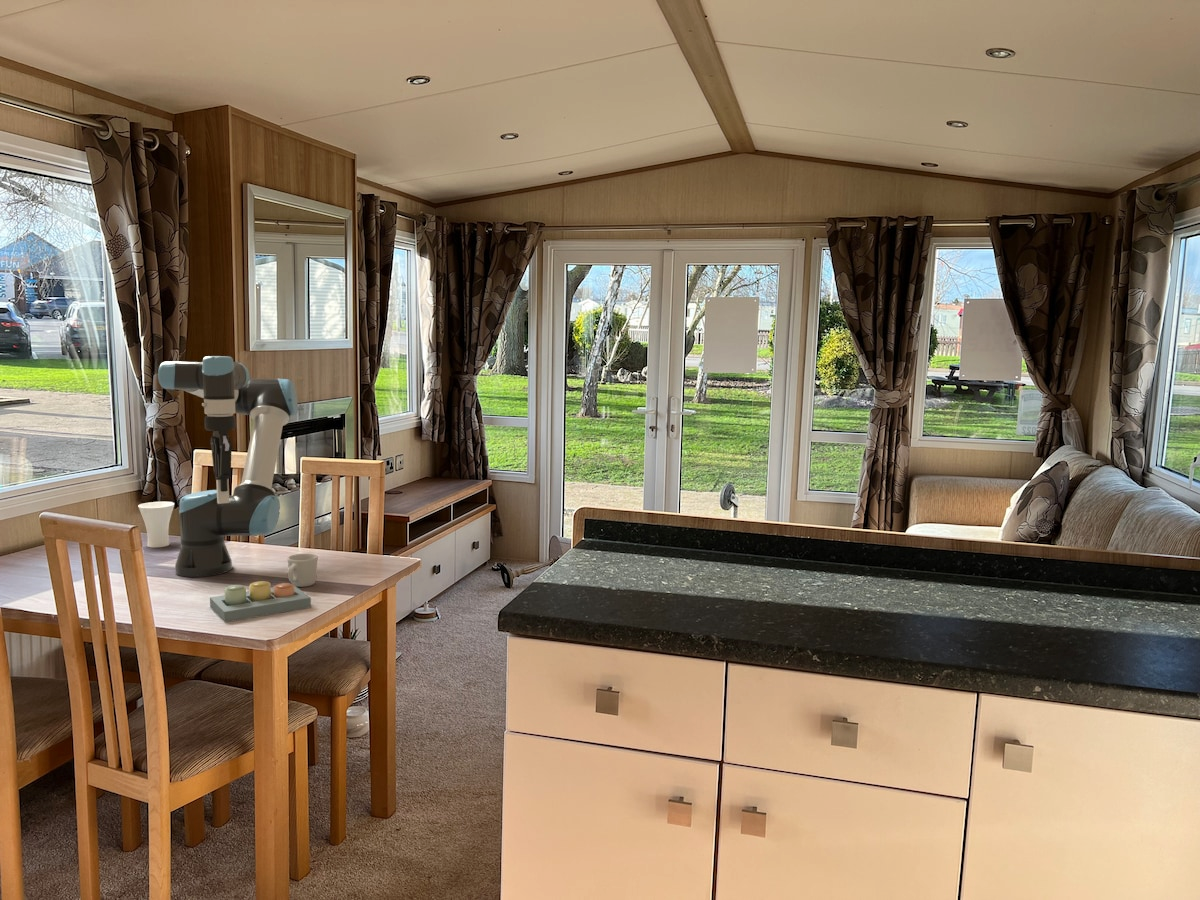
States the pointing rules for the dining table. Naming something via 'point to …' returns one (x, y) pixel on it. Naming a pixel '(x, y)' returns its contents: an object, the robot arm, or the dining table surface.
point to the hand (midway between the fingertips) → (223, 502)
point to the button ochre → (260, 591)
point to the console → (259, 606)
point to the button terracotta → (283, 590)
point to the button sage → (235, 595)
